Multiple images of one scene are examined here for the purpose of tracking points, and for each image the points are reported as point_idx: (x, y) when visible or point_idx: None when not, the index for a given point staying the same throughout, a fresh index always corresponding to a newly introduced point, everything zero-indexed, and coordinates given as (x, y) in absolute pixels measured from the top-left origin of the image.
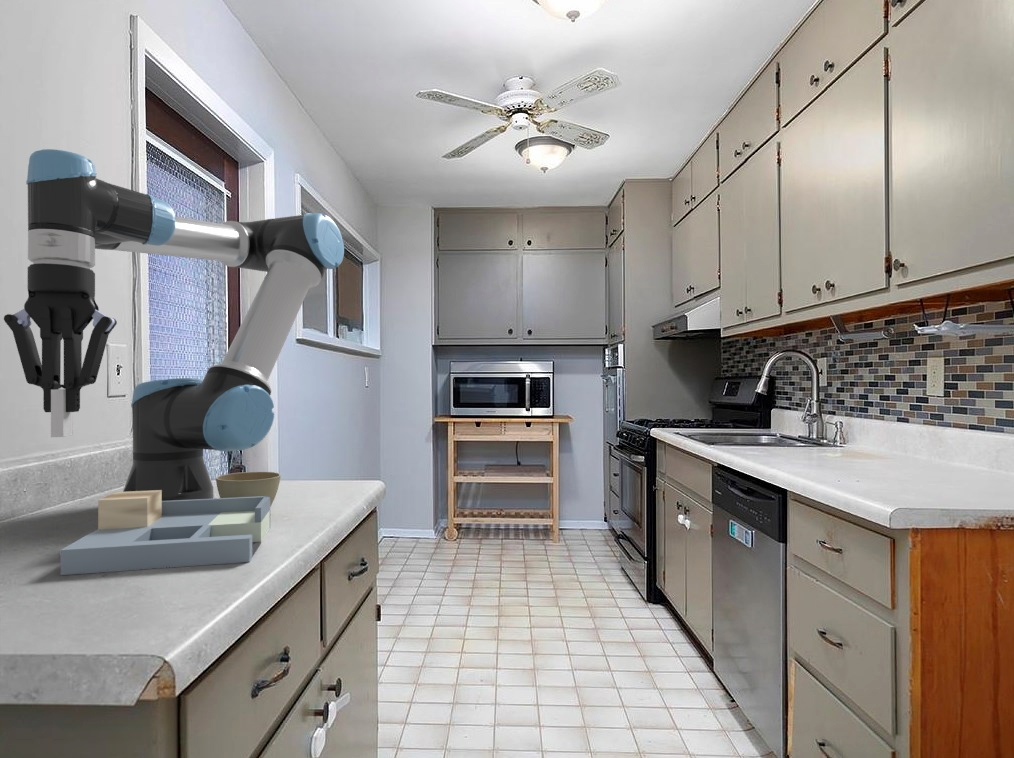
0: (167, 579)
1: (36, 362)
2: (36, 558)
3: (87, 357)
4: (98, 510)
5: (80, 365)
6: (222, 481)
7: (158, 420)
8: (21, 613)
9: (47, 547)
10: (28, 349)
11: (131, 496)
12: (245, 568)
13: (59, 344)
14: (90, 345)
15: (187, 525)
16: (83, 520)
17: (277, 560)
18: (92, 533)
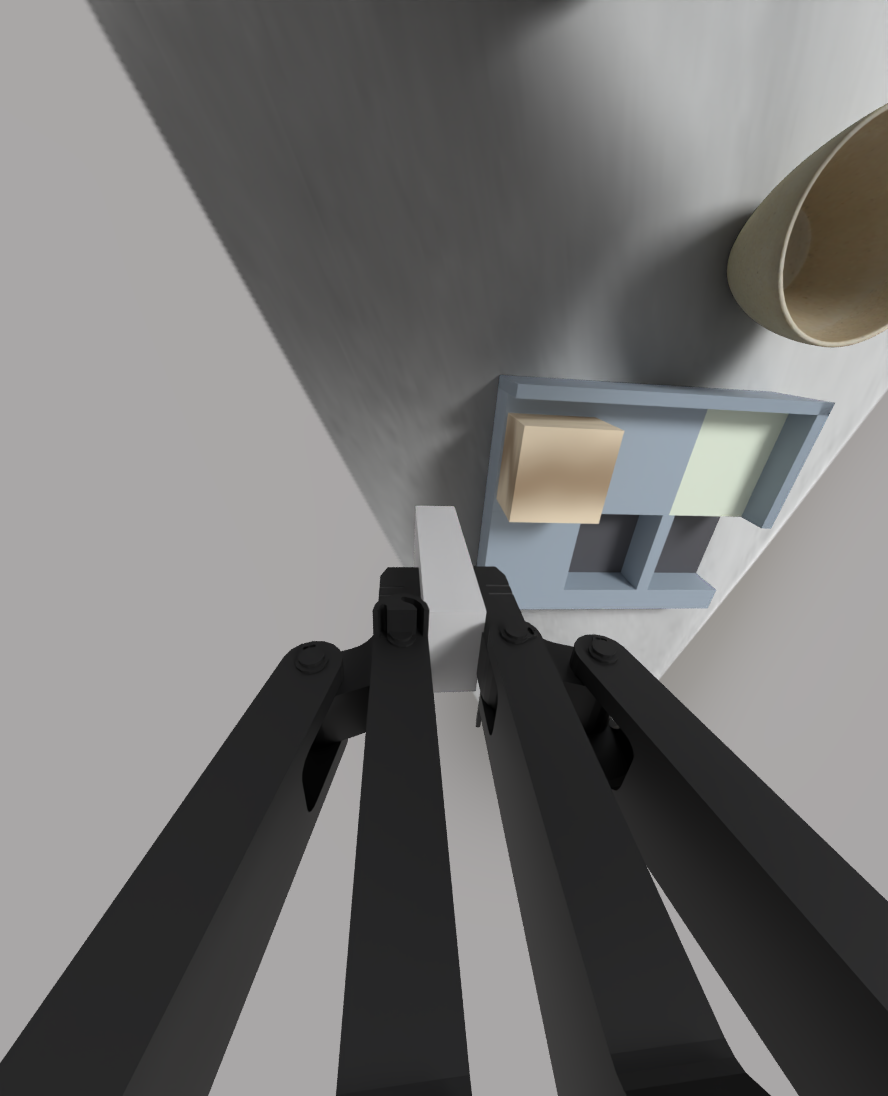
0: (595, 627)
1: (293, 821)
2: (404, 498)
3: (669, 871)
4: (504, 512)
5: (583, 749)
6: (781, 314)
7: None
8: (478, 684)
9: (388, 426)
10: (242, 1002)
11: (567, 498)
12: (677, 610)
13: (462, 1025)
14: (759, 1006)
15: (638, 508)
16: (342, 86)
17: (718, 589)
18: (494, 526)
